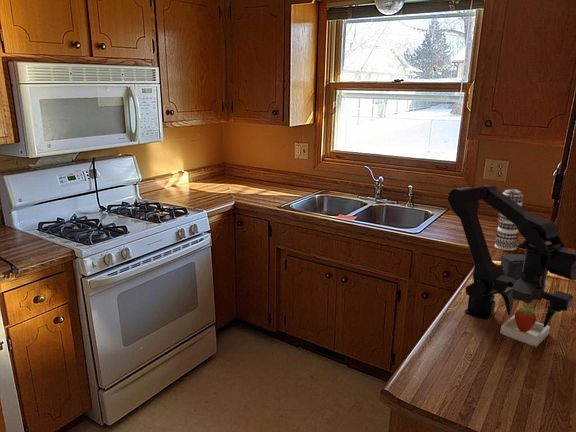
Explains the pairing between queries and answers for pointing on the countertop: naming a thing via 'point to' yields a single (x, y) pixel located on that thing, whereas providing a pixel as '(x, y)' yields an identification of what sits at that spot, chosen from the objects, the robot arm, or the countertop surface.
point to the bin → (529, 337)
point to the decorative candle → (508, 225)
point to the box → (512, 265)
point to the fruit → (525, 318)
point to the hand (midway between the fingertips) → (526, 320)
